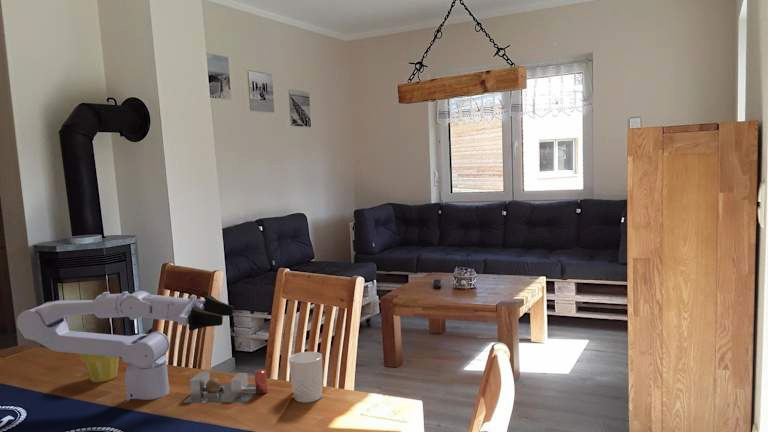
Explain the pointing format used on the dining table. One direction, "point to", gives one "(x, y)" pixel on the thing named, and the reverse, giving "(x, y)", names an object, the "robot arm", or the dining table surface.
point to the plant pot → (100, 367)
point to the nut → (213, 385)
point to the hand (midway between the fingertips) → (227, 315)
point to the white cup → (306, 376)
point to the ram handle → (241, 382)
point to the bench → (223, 395)
